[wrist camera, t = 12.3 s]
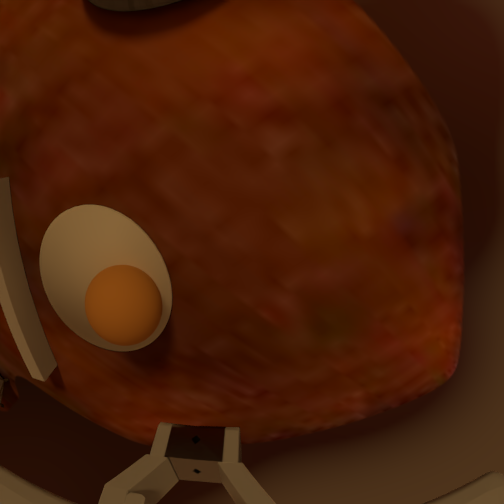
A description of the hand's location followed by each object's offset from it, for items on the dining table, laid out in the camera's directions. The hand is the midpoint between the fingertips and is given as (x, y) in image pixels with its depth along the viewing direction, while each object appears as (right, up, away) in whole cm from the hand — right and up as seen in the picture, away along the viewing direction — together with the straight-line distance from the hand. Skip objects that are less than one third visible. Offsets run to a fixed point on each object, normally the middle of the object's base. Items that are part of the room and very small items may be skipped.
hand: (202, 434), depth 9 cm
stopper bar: (-21, +4, +12) cm, 24 cm away
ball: (-7, +3, +9) cm, 12 cm away
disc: (-11, +4, +12) cm, 16 cm away
